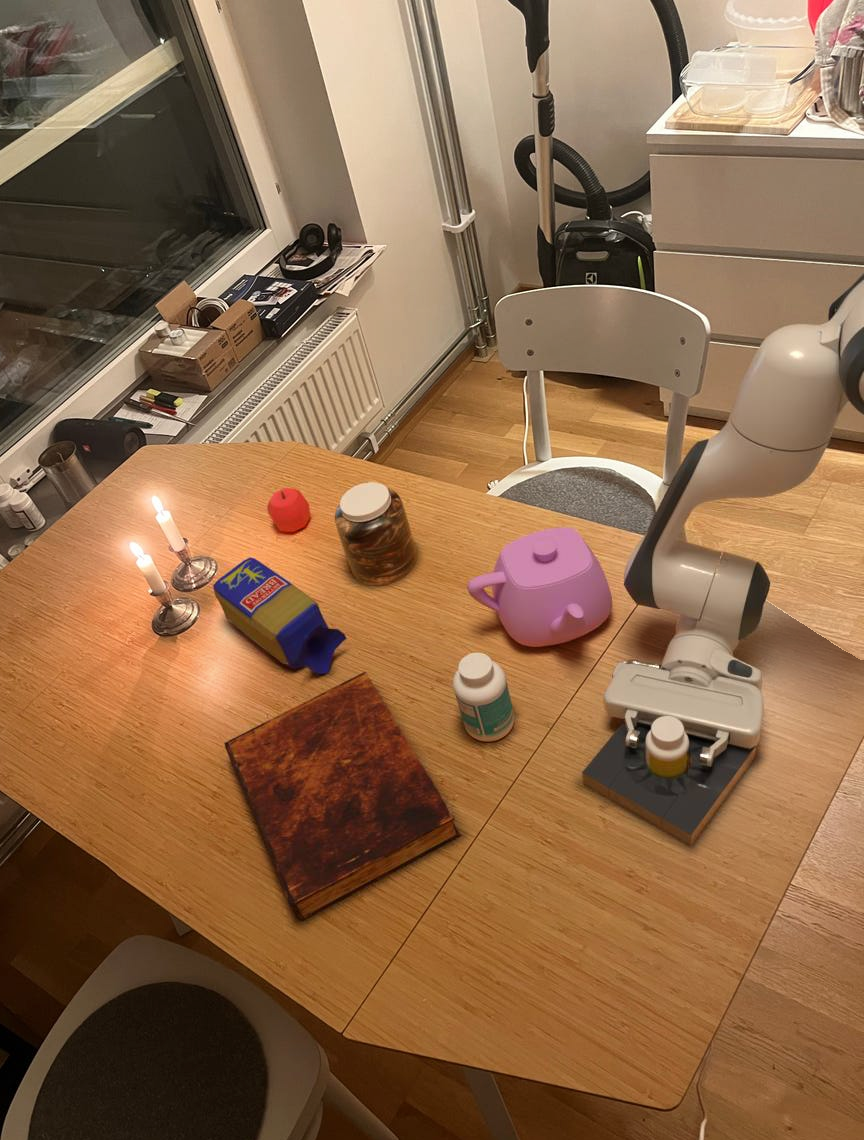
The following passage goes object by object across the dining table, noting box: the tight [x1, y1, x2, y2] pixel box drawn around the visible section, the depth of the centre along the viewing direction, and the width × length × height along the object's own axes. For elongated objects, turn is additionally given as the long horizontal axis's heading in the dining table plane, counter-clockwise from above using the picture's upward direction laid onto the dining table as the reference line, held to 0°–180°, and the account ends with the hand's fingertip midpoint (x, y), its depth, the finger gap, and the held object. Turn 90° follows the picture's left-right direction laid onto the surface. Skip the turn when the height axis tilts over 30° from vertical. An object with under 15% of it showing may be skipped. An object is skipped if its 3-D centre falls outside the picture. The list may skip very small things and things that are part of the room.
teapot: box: [466, 526, 613, 648], centre depth 137 cm, size 23×21×15 cm
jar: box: [334, 481, 418, 587], centre depth 156 cm, size 12×12×15 cm
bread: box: [212, 557, 347, 675], centre depth 151 cm, size 10×25×10 cm, turn 42°
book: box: [224, 671, 462, 922], centre depth 129 cm, size 30×24×5 cm
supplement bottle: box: [646, 716, 689, 779], centre depth 119 cm, size 5×5×10 cm
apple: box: [266, 487, 311, 533], centre depth 171 cm, size 8×8×8 cm
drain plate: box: [581, 720, 758, 847], centre depth 121 cm, size 16×16×3 cm
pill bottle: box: [452, 652, 515, 743], centre depth 129 cm, size 8×7×14 cm
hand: (667, 753), depth 118 cm, fingers open, 8 cm apart
